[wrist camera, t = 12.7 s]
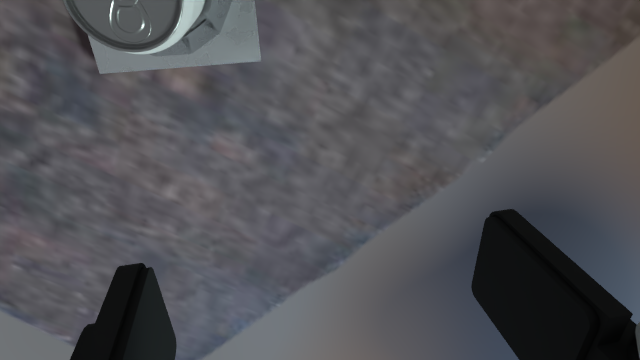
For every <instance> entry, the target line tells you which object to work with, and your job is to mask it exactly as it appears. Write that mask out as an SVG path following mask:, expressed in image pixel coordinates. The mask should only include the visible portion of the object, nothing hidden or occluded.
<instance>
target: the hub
mask: <svg viewBox="0 0 640 360" xmlns="http://www.w3.org/2000/svg"><path fill="white" fill-rule="evenodd" d="M88 37H89V41H90V44H91V47H92V50H93V53H94V56H95V60H96V63H97V66H98V69H99V72H100V74H103V73H116V72H129V71H141V70H154V69H166V68H179V67H192V66H204V65H217V64H230V63H242V62H255V61H261V55H260V46H259V37H258V28H257V19H256V10H255V1H254V0H206V2H205V5H204V7H203V9H202V11H201V13H200V15H199V16H198V18H197V19H196V20H195V22H194V23H193V24H192V26H191V27H190V28H189V29H188V31H187V32H186V33H185V34H184V35H183V37H182V38H181V39H180V40H178V41H177V42H176V43H175V44H173V45H172V46H170V47H169V48H167V49H164V50H162V51H159V52H156V53H151V54H132V53H127V52H123V51H119V50H115V49H112V48H110V47H107V46H105V45H103V44H101V43H99V42H98V41H96V40H94V39H93V38H92V37H90V36H89V35H88Z"/></svg>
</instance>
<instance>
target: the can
mask: <svg viewBox="0 0 640 360" xmlns="http://www.w3.org/2000/svg"><path fill="white" fill-rule="evenodd" d="M63 2H64V4H65V6H66V8H67V10H68V12H69V14H70V15H71V17H72V18H73V19H74V21H75V22H76V23H77V24H78V26H79V27H80V28H81V29H82V30H83V31H84V32H85V33H87V34H88V35H89V36H90V37H92V38H93V39H94V40H96V41H98V42H99V43H101V44H103V45H105V46H107V47H110V48H112V49H115V50H119V51H123V52H127V53H132V54H151V53H156V52H159V51H162V50H164V49H167V48H169V47H170V46H172V45H173V44H175V43H176V42H177V41H178V40H180V39H181V38H182V37H183V35H184V34H185V33H186V32H187V31H188V29H189V28H190V27H191V26H192V24H193V23H194V22H195V20H196V19H197V18H198V16H199V15H200V13H201V11H202V9H203V7H204V5H205V2H206V0H63Z"/></svg>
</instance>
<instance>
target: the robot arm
mask: <svg viewBox="0 0 640 360" xmlns="http://www.w3.org/2000/svg"><path fill="white" fill-rule="evenodd" d="M472 292H473V295H474V297H475V298H476V300H477V301H478V302H479V304H480V305H481V306H482V308H483V309H484V311H485V312H486V314H487V315H488V316H489V318H490V319H491V321H492V322H493V323H494V325H495V326H496V328H497V329H498V330H499V332H500V333H501V335H502V336H503V338H504V339H505V340H506V342H507V343H508V345H509V346H510V347H511V349H512V350H513V352H514V353H515V354H516V356H517V357H518V359H519V360H640V322H639V323H638V324H637V325H636V324H635V323H634V322H633V321H632V320H631V319H630V318H631V316H632V315H633V314H632V313H631V312H630V311H629V310H628V309H627V308H626V307H624V306H623V305H622V304H621V303H620V302H619V301H618V300H616V299H615V298H614V297H613V296H612V295H611V294H610V293H608V292H607V291H606V290H605V289H604V288H603V287H602V286H601V285H599V284H598V283H597V282H596V281H595V280H594V279H593V278H591V277H590V276H589V275H588V274H587V273H586V272H585V271H584V270H582V269H581V268H580V267H579V266H578V265H577V264H576V263H574V262H573V261H572V260H571V259H570V258H568V256H566V255H565V254H564V253H563V252H562V251H561V250H560V249H559V248H557V247H556V246H555V245H554V244H553V243H552V242H551V241H550V240H548V239H547V238H546V237H545V236H544V235H543V234H542V233H540V232H539V231H538V230H537V229H536V228H535V227H534V226H532V225H531V224H530V223H529V222H528V221H527V220H526V219H525V218H523V217H522V216H521V215H520V214H519V213H518V212H517V211H515V210H513V209H508V210H501V211H495V212H492V213H491V214H490V216H489V217H488V218H486V220H485V223H484V228H483V232H482V237H481V242H480V247H479V252H478V256H477V261H476V266H475V271H474V275H473V281H472ZM175 354H176V337H175V334H174V331H173V328H172V325H171V322H170V318H169V315H168V312H167V309H166V306H165V303H164V300H163V297H162V294H161V291H160V288H159V285H158V282H157V279H156V276H155V273H154V270H153V268H151V267H150V268H146V267H145V265H144V264H143V263H138V264H131V265H124V266H119V267H118V268H117V270H116V272H115V275H114V277H113V280H112V282H111V285H110V287H109V290H108V292H107V295H106V297H105V300H104V302H103V305H102V307H101V310H100V312H99V315H98V317H97V320H96V322H95V323H94V324H88V325H87V326H86V327H85V328H84V329H83V331H82V333H81V335H80V337H79V340H78V342H77V344H76V347H75V349H74V352H73V354H72V356H71V359H70V360H175Z"/></svg>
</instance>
